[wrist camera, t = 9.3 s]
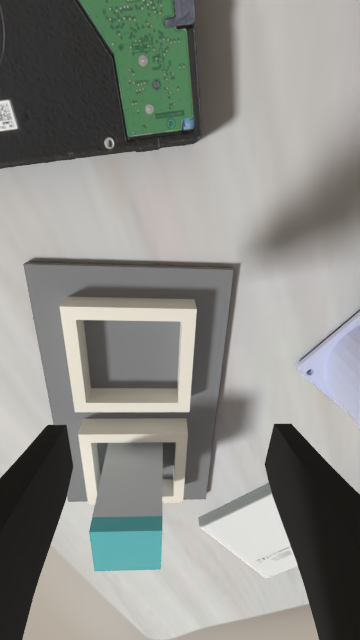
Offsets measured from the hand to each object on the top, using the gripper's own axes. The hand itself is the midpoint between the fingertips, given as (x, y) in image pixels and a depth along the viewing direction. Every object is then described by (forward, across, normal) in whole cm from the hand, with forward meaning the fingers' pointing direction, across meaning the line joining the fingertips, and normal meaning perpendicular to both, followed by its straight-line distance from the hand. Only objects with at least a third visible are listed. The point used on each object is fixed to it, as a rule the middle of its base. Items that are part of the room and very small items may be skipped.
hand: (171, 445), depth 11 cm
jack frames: (+10, +2, +7) cm, 12 cm away
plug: (+9, +2, +11) cm, 15 cm away
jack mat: (+10, +2, +7) cm, 12 cm away
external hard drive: (+11, -10, +23) cm, 28 cm away
